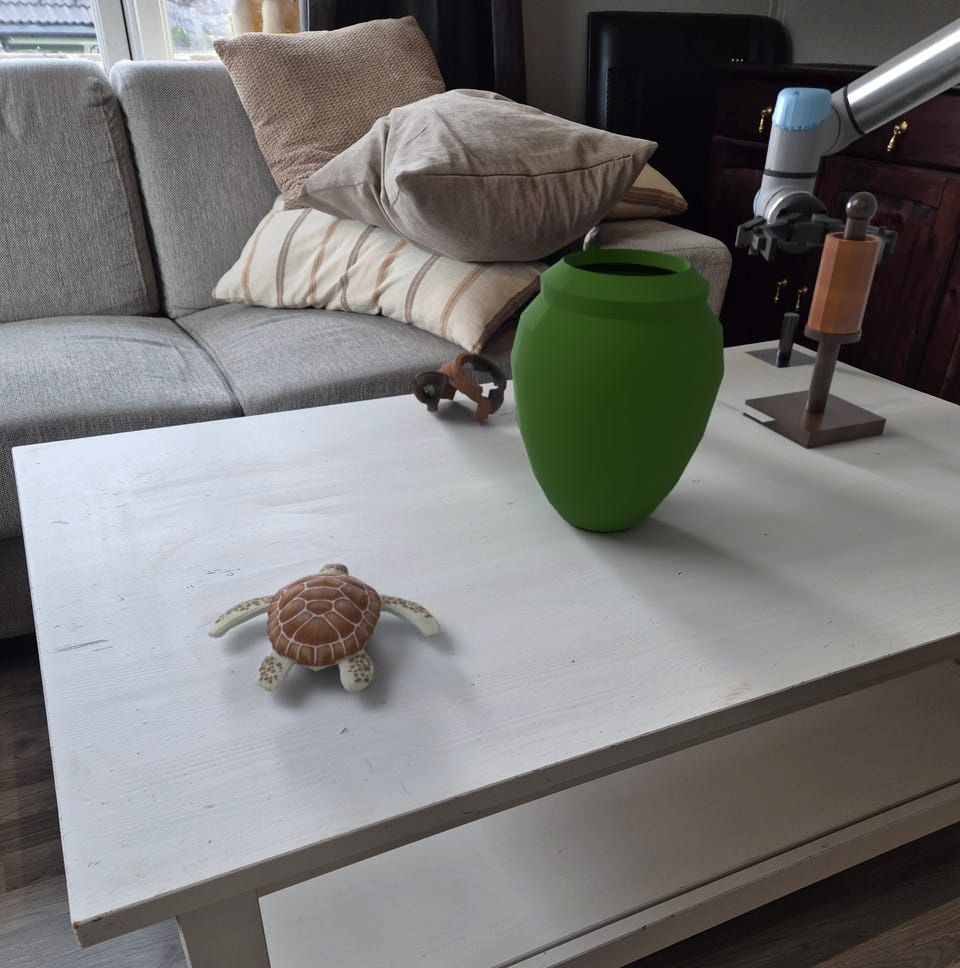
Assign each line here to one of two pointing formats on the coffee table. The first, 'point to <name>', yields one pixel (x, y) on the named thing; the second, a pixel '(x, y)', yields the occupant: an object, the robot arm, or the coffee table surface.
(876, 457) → the coffee table surface
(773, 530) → the coffee table surface
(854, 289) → the octagonal wooden sleeve
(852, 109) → the robot arm
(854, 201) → the brown peg stand
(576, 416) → the vase
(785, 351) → the low peg
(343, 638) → the decorative turtle
